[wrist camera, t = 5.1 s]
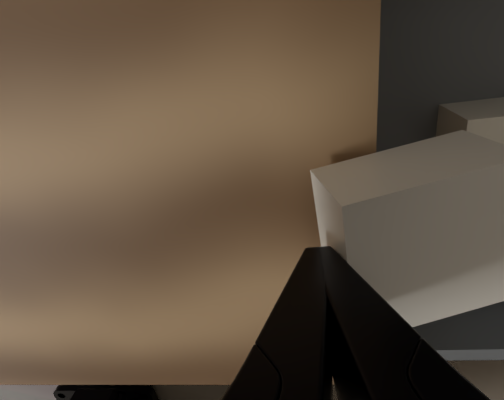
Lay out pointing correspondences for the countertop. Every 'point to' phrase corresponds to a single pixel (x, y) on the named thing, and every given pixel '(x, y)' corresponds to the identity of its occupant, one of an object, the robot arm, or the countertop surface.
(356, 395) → the robot arm
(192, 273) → the wooden block
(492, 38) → the tray
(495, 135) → the tile
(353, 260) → the tile
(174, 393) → the countertop surface
